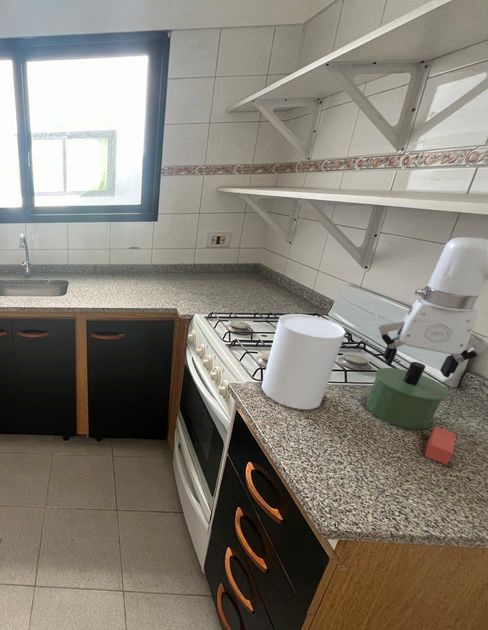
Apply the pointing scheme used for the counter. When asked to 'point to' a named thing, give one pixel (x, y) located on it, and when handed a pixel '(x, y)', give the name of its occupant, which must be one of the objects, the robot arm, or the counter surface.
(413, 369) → the tin lid
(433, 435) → the red rectangular block
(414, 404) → the tin
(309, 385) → the canister
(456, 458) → the counter surface
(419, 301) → the robot arm
